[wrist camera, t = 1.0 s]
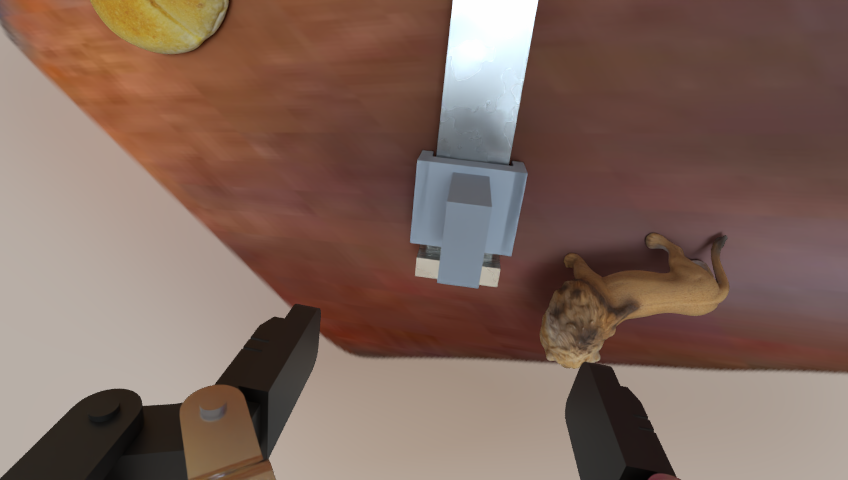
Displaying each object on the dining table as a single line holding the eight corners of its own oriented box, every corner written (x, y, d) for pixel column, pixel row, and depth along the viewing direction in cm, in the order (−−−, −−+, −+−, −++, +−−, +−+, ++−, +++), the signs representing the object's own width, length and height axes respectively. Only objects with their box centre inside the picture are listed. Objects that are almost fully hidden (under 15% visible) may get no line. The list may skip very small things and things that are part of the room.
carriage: (523, 162, 31) (539, 204, 23) (508, 239, 33) (518, 301, 25) (422, 150, 31) (403, 186, 23) (415, 226, 34) (395, 284, 26)
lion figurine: (540, 319, 37) (558, 397, 29) (518, 267, 35) (531, 334, 27) (729, 261, 33) (812, 332, 25) (714, 200, 31) (798, 254, 23)
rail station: (607, -247, 23) (668, -385, 15) (507, 263, 35) (515, 320, 28) (454, -256, 23) (443, -394, 16) (409, 250, 36) (391, 303, 28)
